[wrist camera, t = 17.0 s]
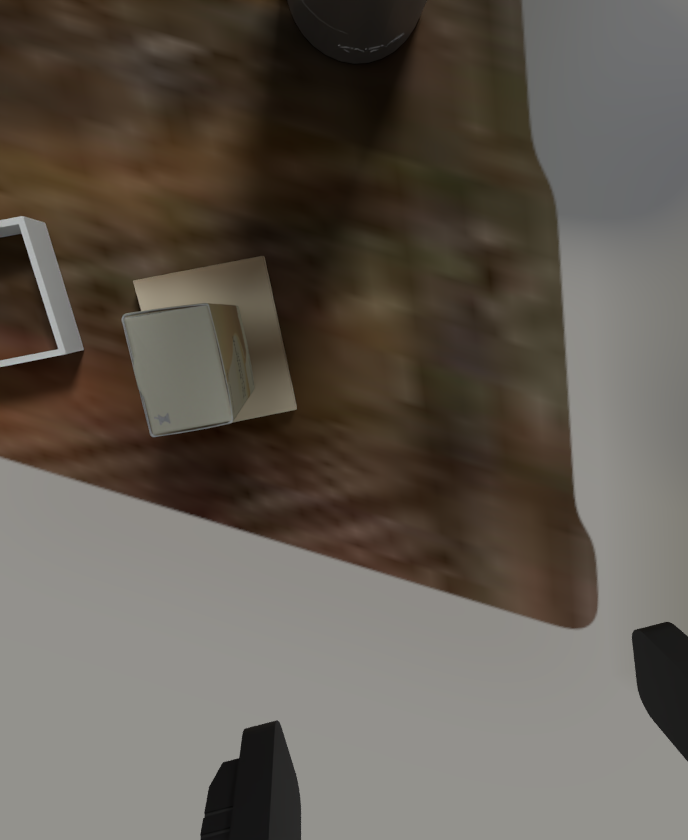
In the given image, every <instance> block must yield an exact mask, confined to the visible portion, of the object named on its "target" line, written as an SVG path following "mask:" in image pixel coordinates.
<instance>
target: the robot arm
mask: <svg viewBox="0 0 688 840" xmlns="http://www.w3.org/2000/svg"><path fill="white" fill-rule="evenodd" d="M426 1H427V0H287V2H288V6H289V8H290V11H291V14H292V16H293V19H294V21H295V23H296V24H297V26H298V28H299V29H300V31H301V33H302V34H303V35H304V36H305V37H306V39H307V40H308V41H309V42H310V43H311V44H312V45H313V46H314V47H315V48H317V49H318V50H319V51H321V52H322V53H324V54H325V55H327V56H329V57H331V58H334V59H336V60H338V61H342V62H347V63H353V64H357V63H369V62H373V61H376V60H379V59H382V58H384V57H386V56H387V55H389V54H391V53H393V52H394V51H395V50H397V49H398V48H399V47H400V46H401V45H402V44H403V43H404V42H405V41H406V40H407V38H408V37H409V36H410V34H411V33H412V31H413V30H414V28H415V26H416V24H417V22H418V19H419V17H420V15H421V13H422V10H423V8H424V6H425V4H426ZM632 643H633V651H634V661H635V670H636V678H637V686H638V691H639V695H640V698H641V700H642V703H643V705H644V707H645V708H646V710H647V712H648V714H649V715H650V717H651V718H652V719H653V721H654V722H655V723H656V724H657V725H658V727H659V728H660V729H661V730H662V731H663V733H664V734H665V735H666V736H667V737H668V739H669V740H670V741H671V742H672V743H673V745H674V746H675V747H676V748H677V749H678V750H679V752H680V753H681V754H682V755H683V756H684V758H685V759H686V760H687V761H688V636H687V635H685V634H684V633H683V632H682V631H681V630H680V629H678V628H677V627H676V626H675V625H674V624H672V623H670V622H664V623H660V624H656V625H652V626H649V627H645V628H641V629H637V630H634V632H633V633H632ZM201 840H301V803H300V793H299V787H298V781H297V777H296V773H295V770H294V767H293V763H292V760H291V757H290V754H289V751H288V747H287V744H286V741H285V738H284V734H283V732H282V728H281V725H280V723H279V721H273V722H269V723H265V724H262V725H258V726H254V727H250V728H246V729H244V731H243V735H242V742H241V750H240V758H239V759H235V760H231V761H227V762H223V763H222V765H221V767H220V769H219V770H218V772H217V774H216V776H215V778H214V779H213V781H212V783H211V785H210V786H209V791H208V796H207V802H206V807H205V818H203V823H202V829H201Z"/></svg>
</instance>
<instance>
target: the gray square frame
mask: <svg viewBox="0 0 688 840" xmlns="http://www.w3.org/2000/svg"><path fill="white" fill-rule="evenodd" d="M17 234H22V236H23V239H24V242H25V246H26V249H27V252H28V255H29V258H30V261H31V264H32V268H33V271H34V274H35V277H36V280H37V283H38V286H39V290H40V293H41V296H42V299H43V302H44V305H45V309H46V312H47V315H48V318H49V321H50V324H51V327H52V331H53V334H54V337H55V340H56V343H57V346H58V349H57V350H52V351H47V352H41V353H36V354H31V355H26V356H21V357H16V358H11V359H6V360H1V361H0V367H3V366H9V365H14V364H19V363H24V362H29V361H34V360H39V359H44V358H49V357H54V356H59V355H64V354H69V353H73V352H77V351H82V350H84V348H83V345H82V341H81V338H80V335H79V332H78V328H77V325H76V322H75V318H74V315H73V312H72V309H71V305H70V302H69V299H68V296H67V292H66V289H65V286H64V283H63V279H62V276H61V273H60V269H59V266H58V263H57V260H56V256H55V253H54V250H53V247H52V243H51V240H50V237H49V234H48V230H47V227H46V224H45V223H44V222H41V221H38V220H34V219H31V218H28V217H24V216H21V217H15V218H10V219H5V220H0V238H1V237H7V236H12V235H17Z"/></svg>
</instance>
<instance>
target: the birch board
mask: <svg viewBox="0 0 688 840" xmlns="http://www.w3.org/2000/svg"><path fill="white" fill-rule="evenodd" d="M133 283H134V286H135V290H136V294H137V297H138V301H139V305H140V308H141V311H145V310H151V309H158V308H165V307H173V306H181V305H190V304H200V303H212V304H224V305H236V306H238V307H239V310H240V314H241V319H242V323H243V327H244V332H245V336H246V340H247V345H248V350H249V355H250V361H251V366H252V372H253V379H254V386H255V389H254V391H253V392H252V394H251V395H250V397H249V398H248V400H247V401H246V403H245V404H244V406H243V407H242V409H241V410H240V412H239V413H238V415H237V416H236V418H235V419H234V421H233V422H238V421H243V420H247V419H252V418H257V417H262V416H267V415H272V414H277V413H282V412H287V411H292V410H297V404H296V400H295V395H294V390H293V386H292V381H291V376H290V372H289V367H288V363H287V358H286V353H285V349H284V344H283V339H282V335H281V330H280V326H279V321H278V316H277V312H276V307H275V302H274V298H273V293H272V289H271V284H270V279H269V275H268V270H267V266H266V261H265V257H264V256H259V257H254V258H249V259H243V260H238V261H233V262H228V263H223V264H217V265H212V266H207V267H202V268H197V269H191V270H186V271H181V272H176V273H171V274H165V275H160V276H155V277H150V278H145V279H139V280H134V281H133ZM233 422H232V423H233ZM178 434H179V433H178Z"/></svg>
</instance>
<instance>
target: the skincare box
mask: <svg viewBox="0 0 688 840" xmlns="http://www.w3.org/2000/svg"><path fill="white" fill-rule="evenodd" d="M122 323H123V327H124V331H125V336H126V340H127V344H128V348H129V352H130V356H131V360H132V365H133V369H134V373H135V377H136V381H137V385H138V389H139V392H140V396H141V400H142V404H143V408H144V412H145V416H146V420H147V424H148V427H149V432H150V435H151V436H152V437H158V436H164V435H171V434H178V433H184V432H190V431H196V430H201V429H207V428H212V427H217V426H221V425H226V424H231V423H232V422H233V421H234V419H235V418H236V416H237V415H238V413H239V412H240V410H241V409H242V407H243V406H244V404H245V403H246V401H247V400H248V398H249V397H250V395H251V394H252V392H253V391H254V389H255V386H254V379H253V372H252V366H251V361H250V355H249V350H248V345H247V340H246V336H245V332H244V327H243V323H242V319H241V314H240V310H239V307H238V306H236V305H224V304H212V303H200V304H190V305H181V306H173V307H165V308H158V309H151V310H145V311H139V312H132V313H126V314H124V315H123V316H122Z"/></svg>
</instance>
